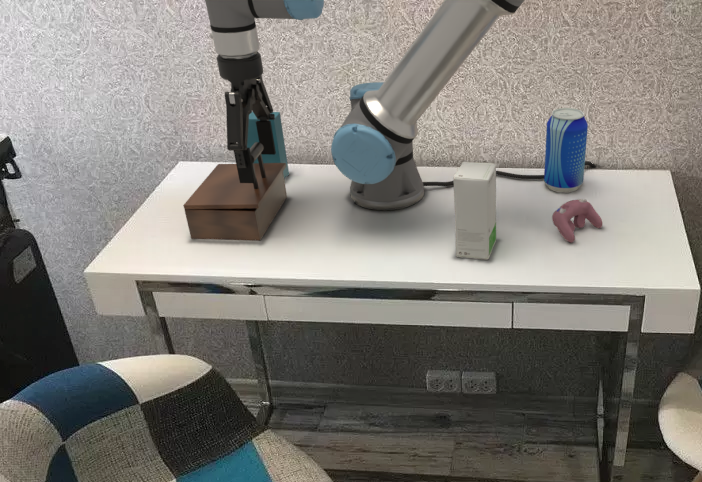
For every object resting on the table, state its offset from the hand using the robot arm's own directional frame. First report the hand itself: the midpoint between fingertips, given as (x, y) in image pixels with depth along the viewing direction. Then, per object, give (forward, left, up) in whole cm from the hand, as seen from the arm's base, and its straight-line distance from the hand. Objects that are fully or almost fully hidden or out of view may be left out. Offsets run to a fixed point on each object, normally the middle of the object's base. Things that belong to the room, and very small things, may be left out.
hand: (258, 167), depth 150 cm
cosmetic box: (-42, +9, -11) cm, 44 cm away
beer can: (-59, -20, -11) cm, 63 cm away
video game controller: (-61, +1, -11) cm, 62 cm away
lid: (+5, 0, -4) cm, 6 cm away
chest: (+5, 0, -11) cm, 12 cm away
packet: (+5, -20, -11) cm, 23 cm away
